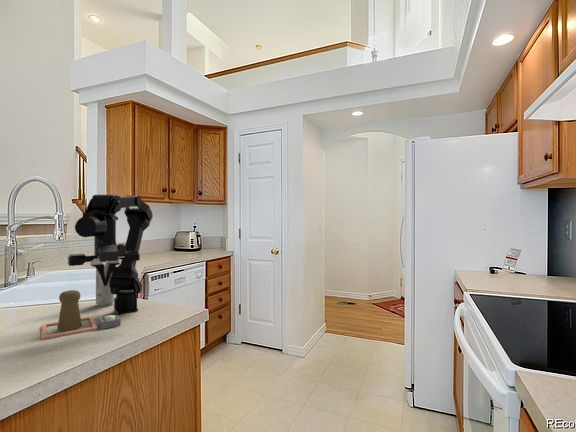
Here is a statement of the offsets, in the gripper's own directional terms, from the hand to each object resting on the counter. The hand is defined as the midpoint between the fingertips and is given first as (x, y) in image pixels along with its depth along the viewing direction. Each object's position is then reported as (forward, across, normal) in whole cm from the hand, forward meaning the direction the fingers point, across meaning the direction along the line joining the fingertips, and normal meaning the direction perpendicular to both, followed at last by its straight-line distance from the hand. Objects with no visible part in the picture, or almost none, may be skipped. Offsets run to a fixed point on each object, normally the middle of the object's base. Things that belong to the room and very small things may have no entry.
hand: (105, 285), depth 97 cm
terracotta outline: (+12, -9, +3) cm, 15 cm away
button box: (+12, +1, -2) cm, 12 cm away
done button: (+13, +1, -2) cm, 13 cm away
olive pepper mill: (+12, -9, +3) cm, 15 cm away
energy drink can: (+12, +4, +24) cm, 28 cm away
